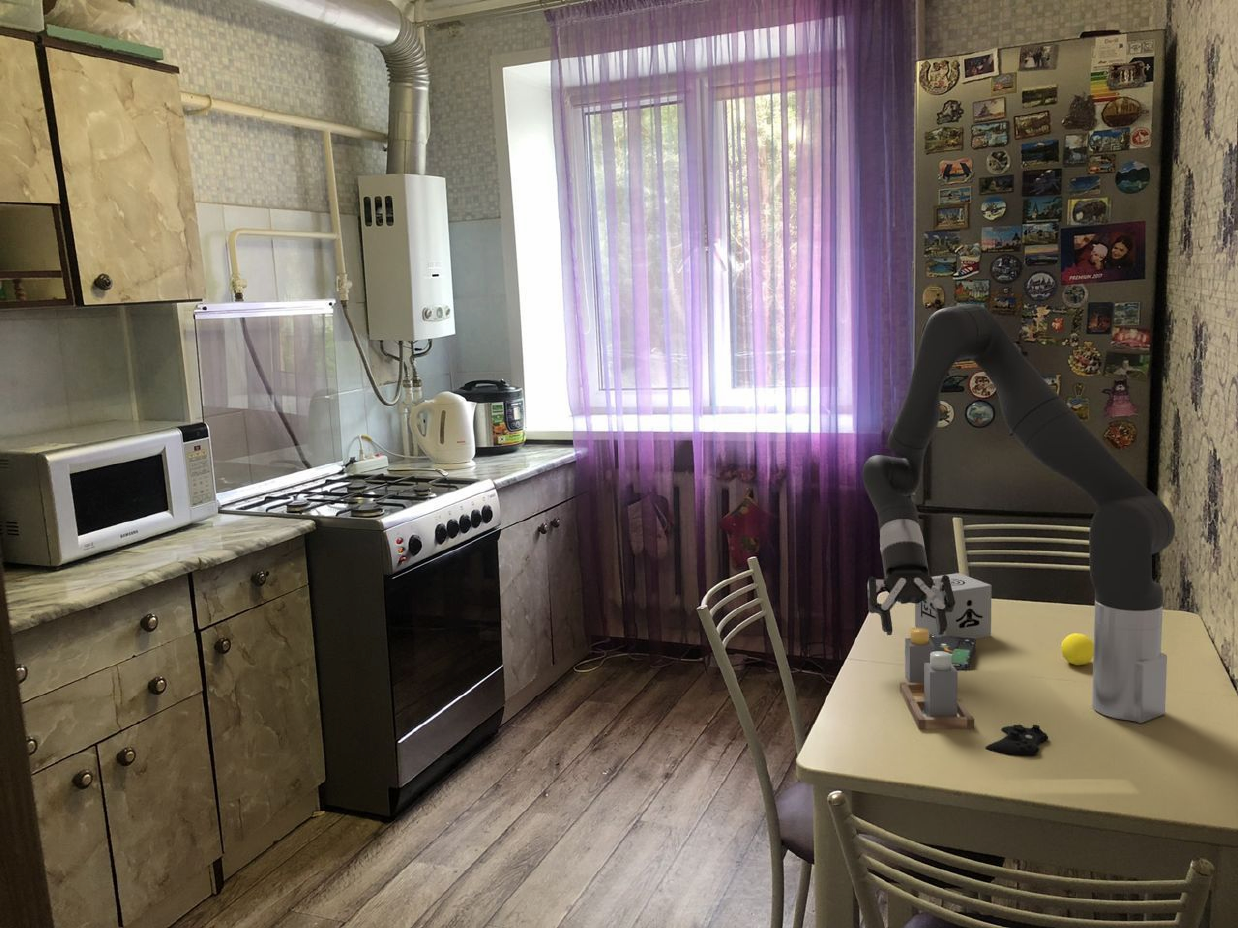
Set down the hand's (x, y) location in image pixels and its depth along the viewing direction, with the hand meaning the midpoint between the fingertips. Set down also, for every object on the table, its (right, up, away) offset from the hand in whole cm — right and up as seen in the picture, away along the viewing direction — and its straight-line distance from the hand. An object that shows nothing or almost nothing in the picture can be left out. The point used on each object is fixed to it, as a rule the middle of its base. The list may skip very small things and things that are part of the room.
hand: (915, 632), depth 171 cm
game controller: (+6, -13, -27) cm, 31 cm away
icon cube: (+14, -4, +25) cm, 29 cm away
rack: (-1, -11, -14) cm, 18 cm away
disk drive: (+8, -7, +11) cm, 15 cm away
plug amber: (0, -9, -2) cm, 9 cm away
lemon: (+30, -6, +6) cm, 31 cm away
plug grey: (-1, -10, -18) cm, 20 cm away
